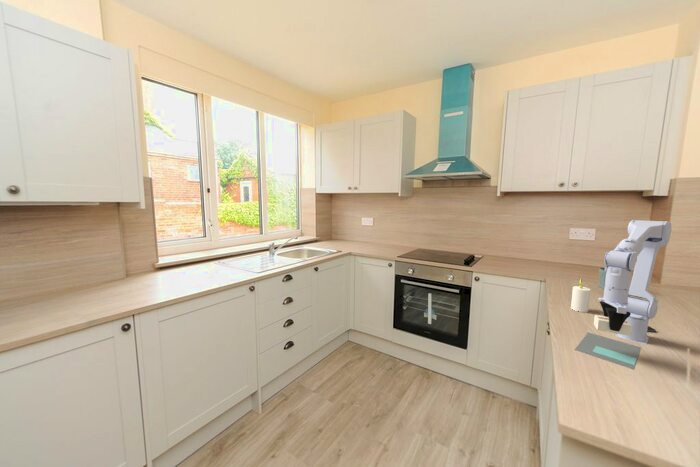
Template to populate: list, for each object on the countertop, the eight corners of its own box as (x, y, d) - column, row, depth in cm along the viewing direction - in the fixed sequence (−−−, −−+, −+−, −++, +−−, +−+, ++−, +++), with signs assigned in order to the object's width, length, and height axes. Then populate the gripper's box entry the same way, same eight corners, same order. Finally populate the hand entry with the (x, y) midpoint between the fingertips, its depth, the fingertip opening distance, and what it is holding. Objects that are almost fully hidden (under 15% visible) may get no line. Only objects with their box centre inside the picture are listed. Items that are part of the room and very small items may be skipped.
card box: (625, 329, 91) (626, 319, 90) (630, 336, 86) (632, 325, 86) (593, 324, 95) (594, 314, 94) (597, 330, 90) (598, 319, 90)
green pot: (623, 293, 152) (625, 272, 151) (599, 290, 157) (601, 270, 156) (618, 288, 160) (620, 268, 159) (595, 285, 166) (597, 266, 164)
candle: (592, 312, 126) (595, 280, 124) (580, 312, 125) (583, 281, 123) (578, 306, 132) (582, 276, 130) (567, 307, 131) (570, 277, 129)
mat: (587, 333, 104) (588, 332, 104) (640, 349, 94) (641, 347, 94) (574, 351, 92) (574, 349, 92) (633, 371, 81) (633, 369, 81)
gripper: (594, 280, 97) (590, 316, 99) (606, 291, 85) (601, 332, 86) (621, 283, 93) (617, 321, 95) (638, 295, 81) (632, 338, 83)
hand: (611, 327), depth 90 cm, fingers closed on card box, 5 cm apart
